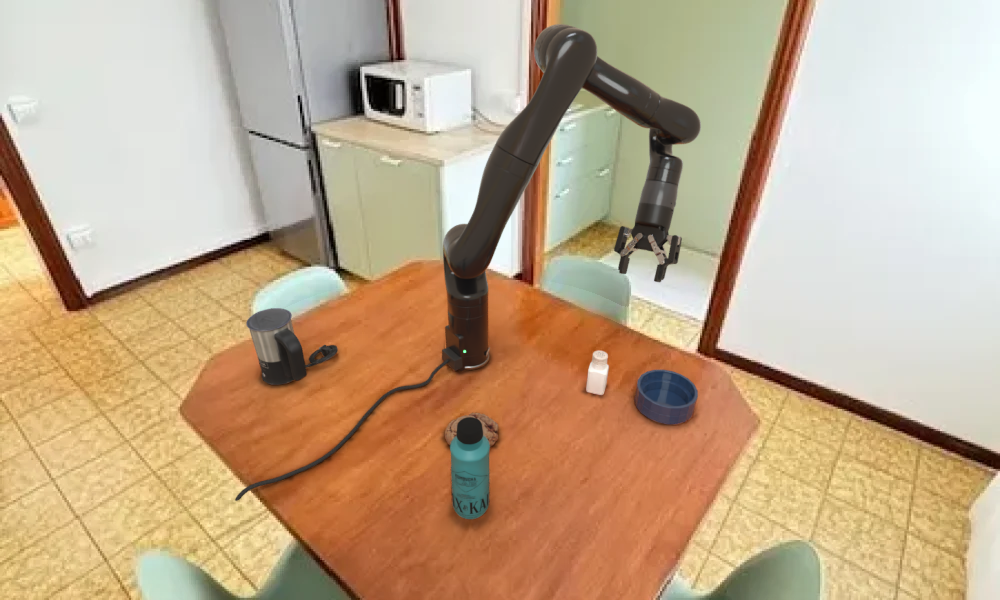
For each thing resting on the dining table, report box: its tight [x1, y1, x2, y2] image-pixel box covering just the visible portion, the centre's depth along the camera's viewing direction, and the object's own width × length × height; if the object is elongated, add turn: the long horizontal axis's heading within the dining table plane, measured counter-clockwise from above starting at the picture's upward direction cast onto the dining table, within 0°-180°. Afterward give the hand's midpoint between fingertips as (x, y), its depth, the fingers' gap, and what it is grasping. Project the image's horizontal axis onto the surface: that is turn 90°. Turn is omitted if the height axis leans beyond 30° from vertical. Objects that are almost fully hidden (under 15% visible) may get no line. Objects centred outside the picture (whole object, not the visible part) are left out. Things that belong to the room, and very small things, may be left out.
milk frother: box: [245, 307, 339, 386], centre depth 122 cm, size 14×16×15 cm
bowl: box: [633, 369, 699, 425], centre depth 114 cm, size 12×12×5 cm
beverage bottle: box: [449, 417, 491, 520], centre depth 87 cm, size 6×7×20 cm
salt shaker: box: [585, 349, 610, 396], centre depth 117 cm, size 4×4×10 cm
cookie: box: [444, 412, 500, 448], centre depth 106 cm, size 10×11×3 cm
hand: (639, 277), depth 119 cm, fingers open, 8 cm apart
